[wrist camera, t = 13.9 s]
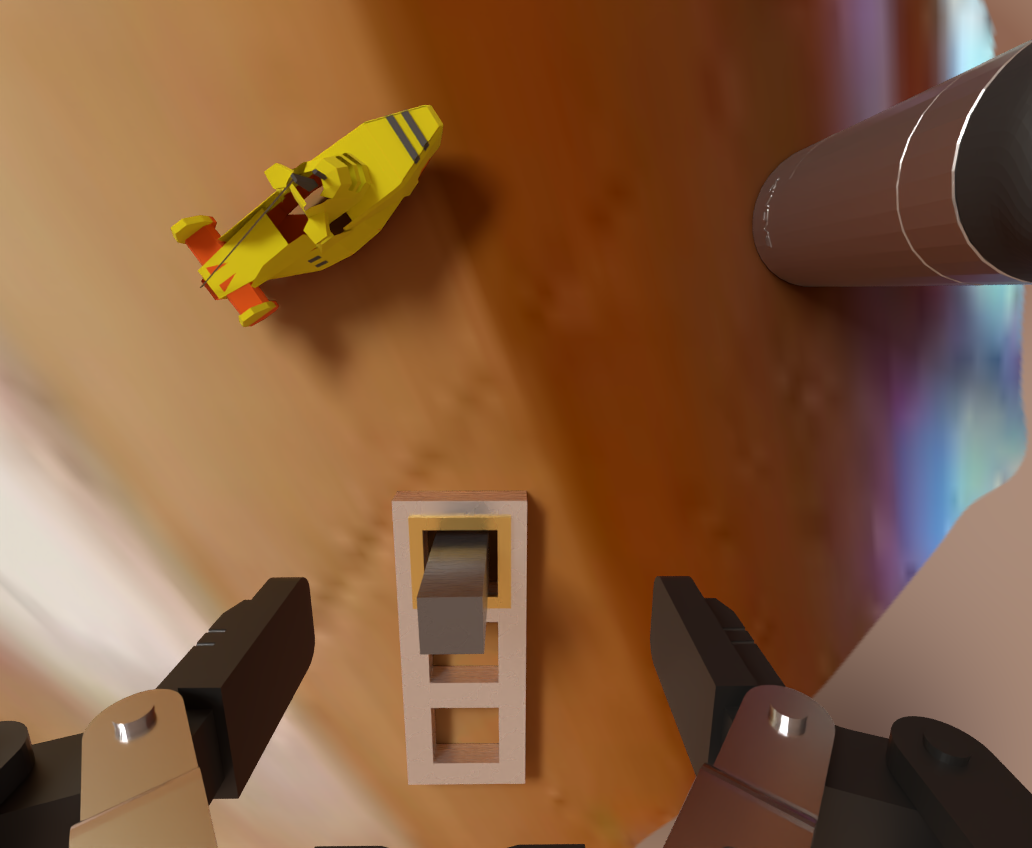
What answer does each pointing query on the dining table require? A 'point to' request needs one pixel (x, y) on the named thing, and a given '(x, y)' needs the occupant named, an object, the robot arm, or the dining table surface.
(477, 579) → the peg
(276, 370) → the dining table surface
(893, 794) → the robot arm
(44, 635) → the dining table surface
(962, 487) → the dining table surface
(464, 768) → the rail
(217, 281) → the toy boat
